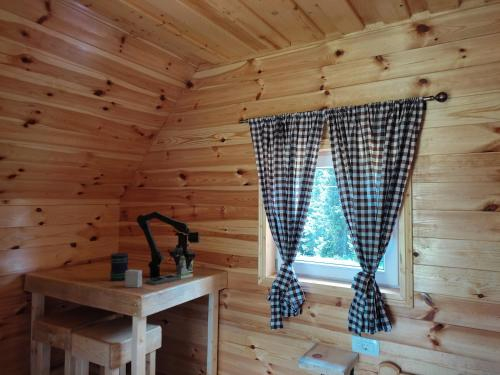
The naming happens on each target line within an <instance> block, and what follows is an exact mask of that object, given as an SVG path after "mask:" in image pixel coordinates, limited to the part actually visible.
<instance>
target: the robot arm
mask: <svg viewBox="0 0 500 375" xmlns="http://www.w3.org/2000/svg"><path fill="white" fill-rule="evenodd" d="M154 219H156V220H159V221H160V222H162V223H165V224H167V225H170V226H171V227H173V228H174V229H175V230H176V233H175V234H174V237H175V236H176V237H177V244H176V245H175V247H174V248H172V249H170V250H169V256H170V257H171V259H173V261H174V262H175V265H176V266H177V265H179V263H180V258H181V256H184V257H185V258H184V259H185V261H186V269H188V268H189V266H190V264H191V262H192V260H193V261H194V259H195V258H196V257H197V254H196V253H195V252H193V253H192V252H190V253H189V251H187V249H188V247H189V246H190V244H199V243H200V239H201V238H200V231H191V229H190V228H189V225H188V223H187V222H185V221H180V220H176V219H174V218H171V217H169V216H168V215H165V214H162V212H161V213H160V212H159V211H153V212H151V213H147V214H140V215H138V216H137V217H136V222H137V224H138V226H139V227H140V229H141V230H142V231H143V235H144V237H145V240H146V242H147V244H148V248H149V250H150V259H151V261H150V262H149V263H148V264H147V266H148V268H149V273H148V274H149V275H147V276H146V277H147V278H155V277H161V276H163V275H161V274H160V273H161V267H160V266H161V263H163V262H164V260H165V254H164V253H163V250H159V248H158V246H157V243H156V240H155V237H154V235H153V232H152V229H151V227H150V221H151V220H154ZM188 242H189V243H188ZM183 254H184V255H183ZM180 255H181V256H180ZM176 266H175V267H176Z"/></svg>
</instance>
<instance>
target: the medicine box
mask: <svg viewBox="0 0 500 375" xmlns="http://www.w3.org/2000/svg"><path fill="white" fill-rule="evenodd" d="M142 286H143V270H142V269H128V270H127V271H125V281H124V287H125V288H140V287H142Z"/></svg>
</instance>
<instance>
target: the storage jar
mask: <svg viewBox="0 0 500 375" xmlns="http://www.w3.org/2000/svg"><path fill="white" fill-rule="evenodd" d="M128 264H129V253H127V252H126V253H125V252H121V253H120V252H119V253H117V252H116V253H112V254H110V281H111V282H114V281H119V282H125V271H127V270H129V269H128V267H129V265H128Z"/></svg>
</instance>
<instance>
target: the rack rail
mask: <svg viewBox="0 0 500 375" xmlns="http://www.w3.org/2000/svg"><path fill="white" fill-rule="evenodd" d="M172 274H173V273H171V274H166V275H162V276H161V277H155V278H151V277H149V278H146V279H145V283H146V284H149V285H153V286H158V285H163V284H167V283H173V282H178V281H181V280H182V279H181V276H176V275H172Z"/></svg>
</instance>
